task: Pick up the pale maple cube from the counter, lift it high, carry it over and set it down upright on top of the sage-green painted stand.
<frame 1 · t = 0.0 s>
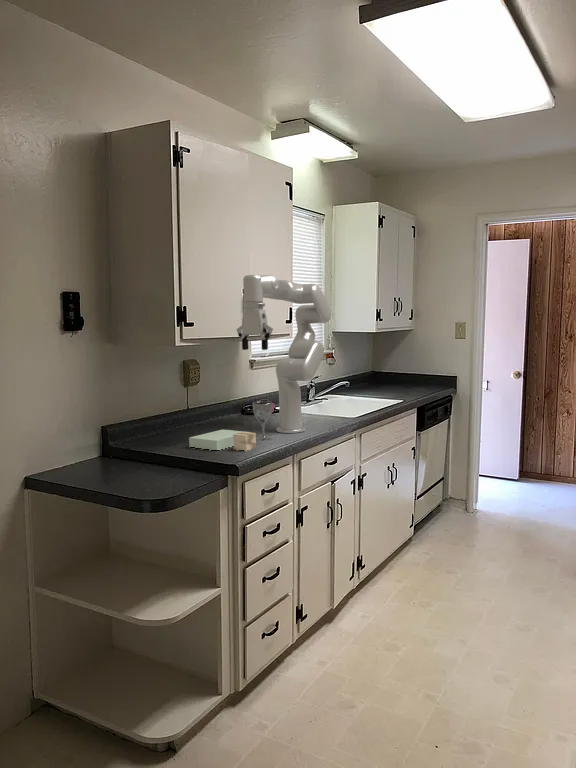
hand: (255, 349, 249), 37 cm above the counter, tool pointing down, fingers open, 9 cm apart
maple cube: (245, 449, 236), on the counter
wine glass: (263, 439, 256), on the counter
sage stand: (220, 444, 246), on the counter
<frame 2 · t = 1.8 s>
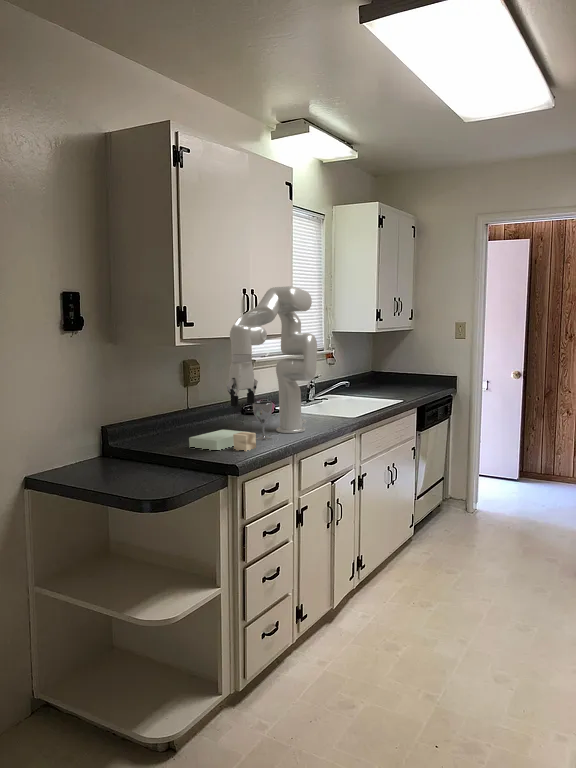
hand: (242, 404, 234), 17 cm above the counter, tool pointing down, fingers open, 9 cm apart
nothing on the counter moved.
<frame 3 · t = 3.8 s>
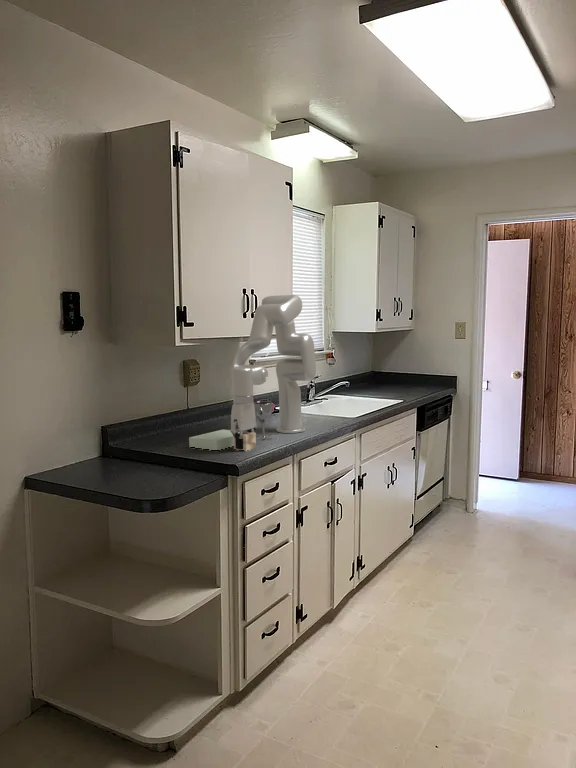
hand: (245, 446, 236), 1 cm above the counter, tool pointing down, fingers closed on maple cube, 6 cm apart
maple cube: (245, 449, 236), on the counter, touching gripper
everything else where it was.
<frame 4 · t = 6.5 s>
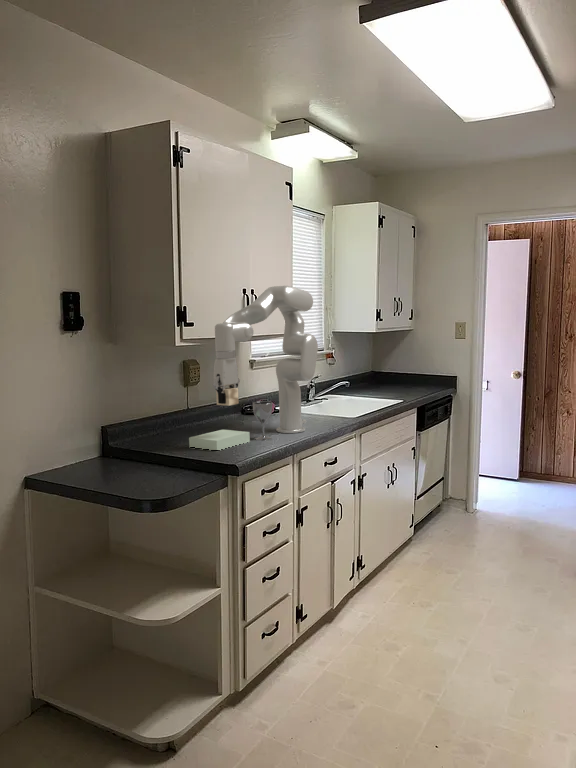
hand: (227, 401, 241), 17 cm above the counter, tool pointing down, fingers closed on maple cube, 6 cm apart
maple cube: (227, 404, 241), point 16 cm above the counter, touching gripper
everything else where it was.
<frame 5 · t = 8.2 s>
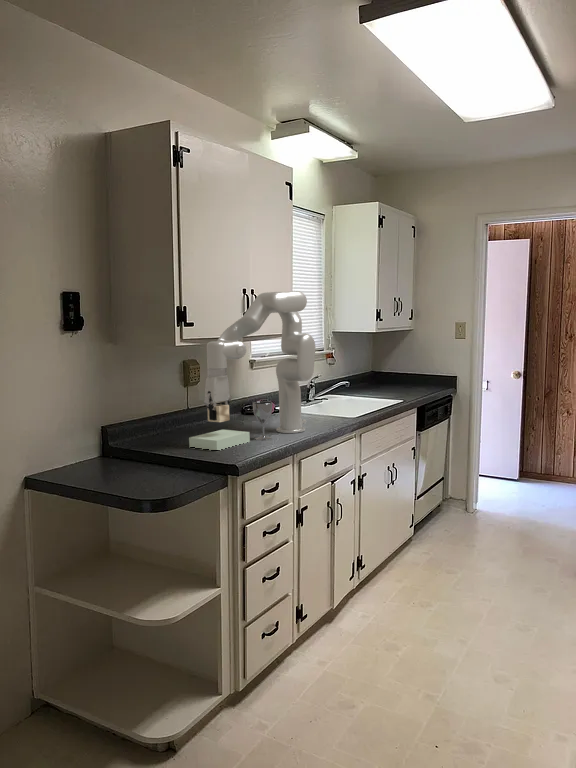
hand: (218, 418, 245), 11 cm above the counter, tool pointing down, fingers closed on maple cube, 6 cm apart
maple cube: (218, 420, 245), point 10 cm above the counter, touching gripper
everything else where it was.
when the fingers open (7 cm above the counter, at t = 9.4 s): maple cube drops 2 cm, resting on sage stand.
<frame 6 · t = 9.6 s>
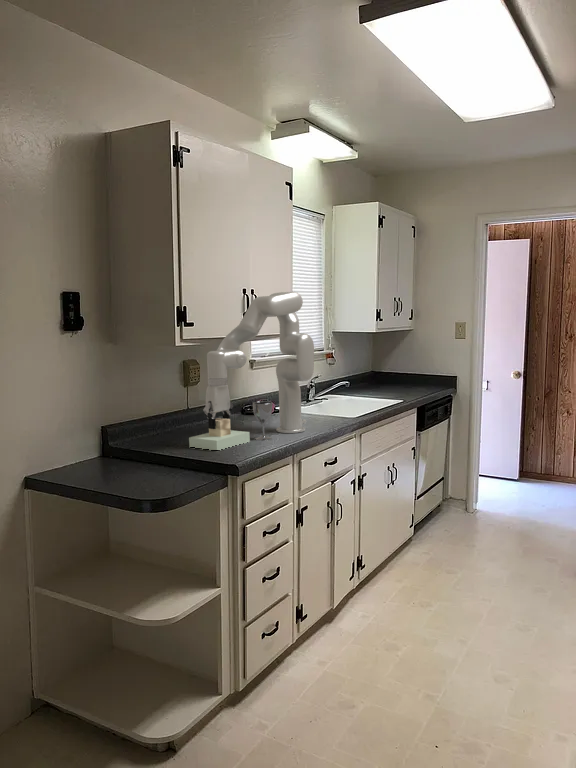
hand: (219, 426, 245), 7 cm above the counter, tool pointing down, fingers open, 8 cm apart
maple cube: (219, 434, 246), point 4 cm above the counter, touching sage stand
everything else where it was.
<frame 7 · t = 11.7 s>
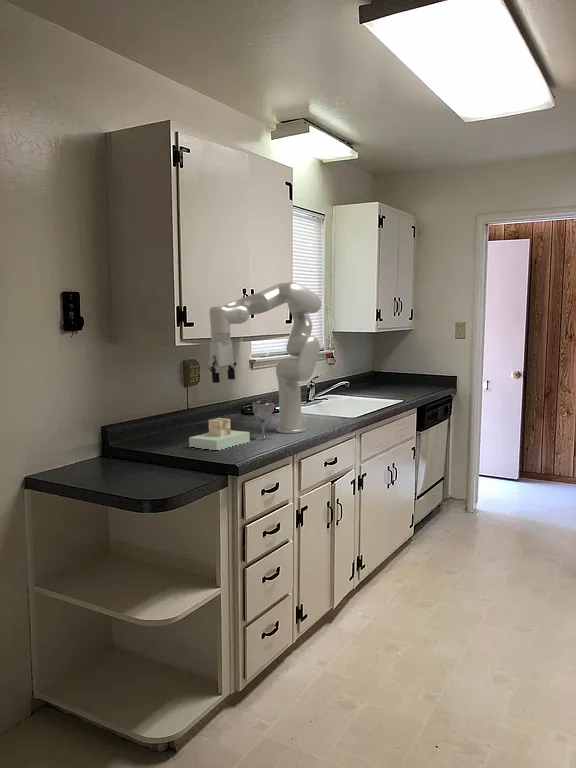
hand: (224, 380, 248), 25 cm above the counter, tool pointing down, fingers open, 9 cm apart
nothing on the counter moved.
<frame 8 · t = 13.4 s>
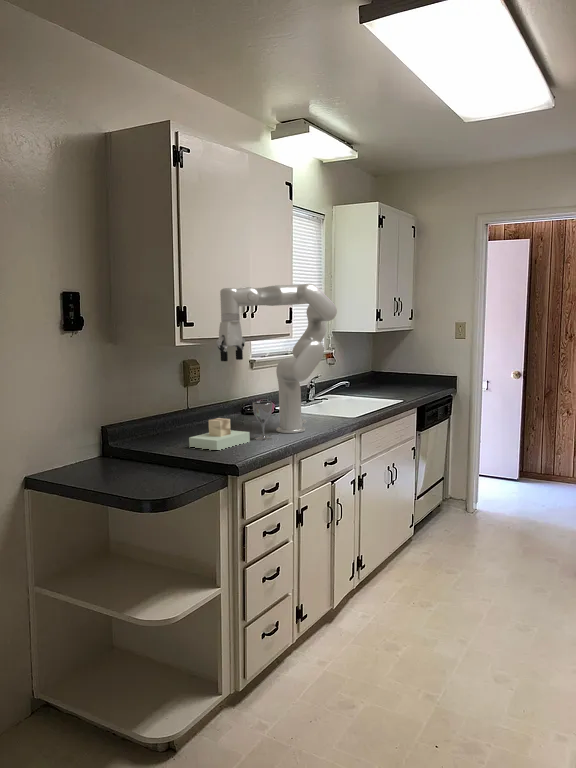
hand: (231, 360, 256), 32 cm above the counter, tool pointing down, fingers open, 9 cm apart
nothing on the counter moved.
at the end: maple cube inside the target area on the sage stand (0.1 cm from its centre), point 4.0 cm above the sage stand's base; maple cube tilted 0°; the gripper is holding nothing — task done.
